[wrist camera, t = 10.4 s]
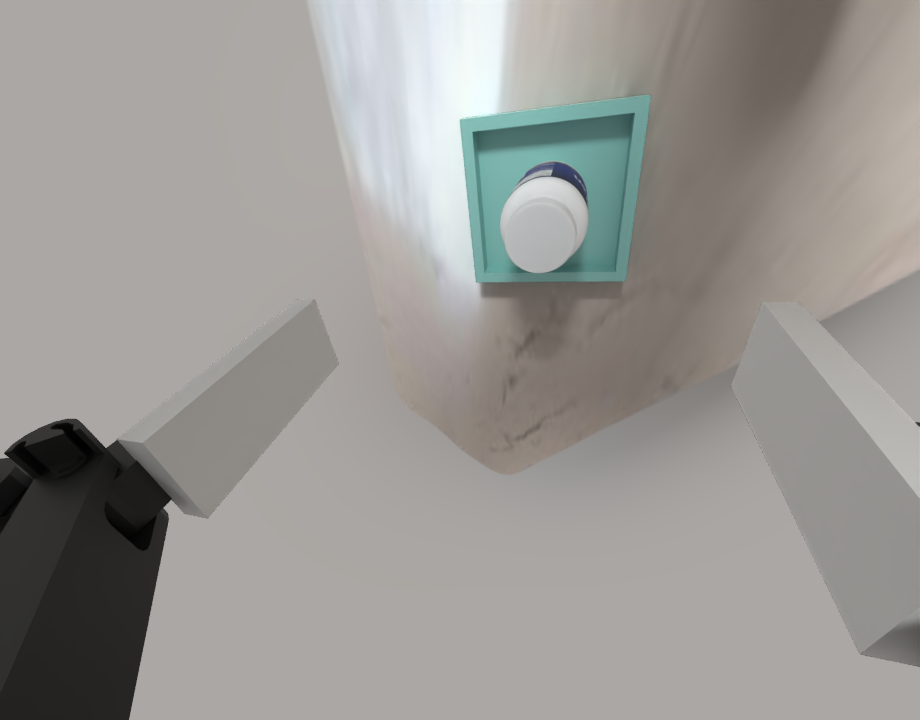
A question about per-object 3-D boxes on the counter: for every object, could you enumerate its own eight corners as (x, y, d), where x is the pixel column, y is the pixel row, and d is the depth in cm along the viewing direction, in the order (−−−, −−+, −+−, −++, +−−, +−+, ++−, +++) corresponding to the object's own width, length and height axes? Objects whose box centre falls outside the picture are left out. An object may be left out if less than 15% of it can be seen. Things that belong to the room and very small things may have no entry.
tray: (466, 117, 28) (459, 119, 26) (646, 94, 24) (651, 95, 23) (480, 273, 34) (476, 282, 33) (623, 271, 31) (625, 281, 30)
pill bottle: (597, 216, 29) (602, 265, 21) (530, 244, 31) (514, 297, 24) (572, 144, 26) (569, 169, 19) (503, 180, 29) (475, 216, 21)
